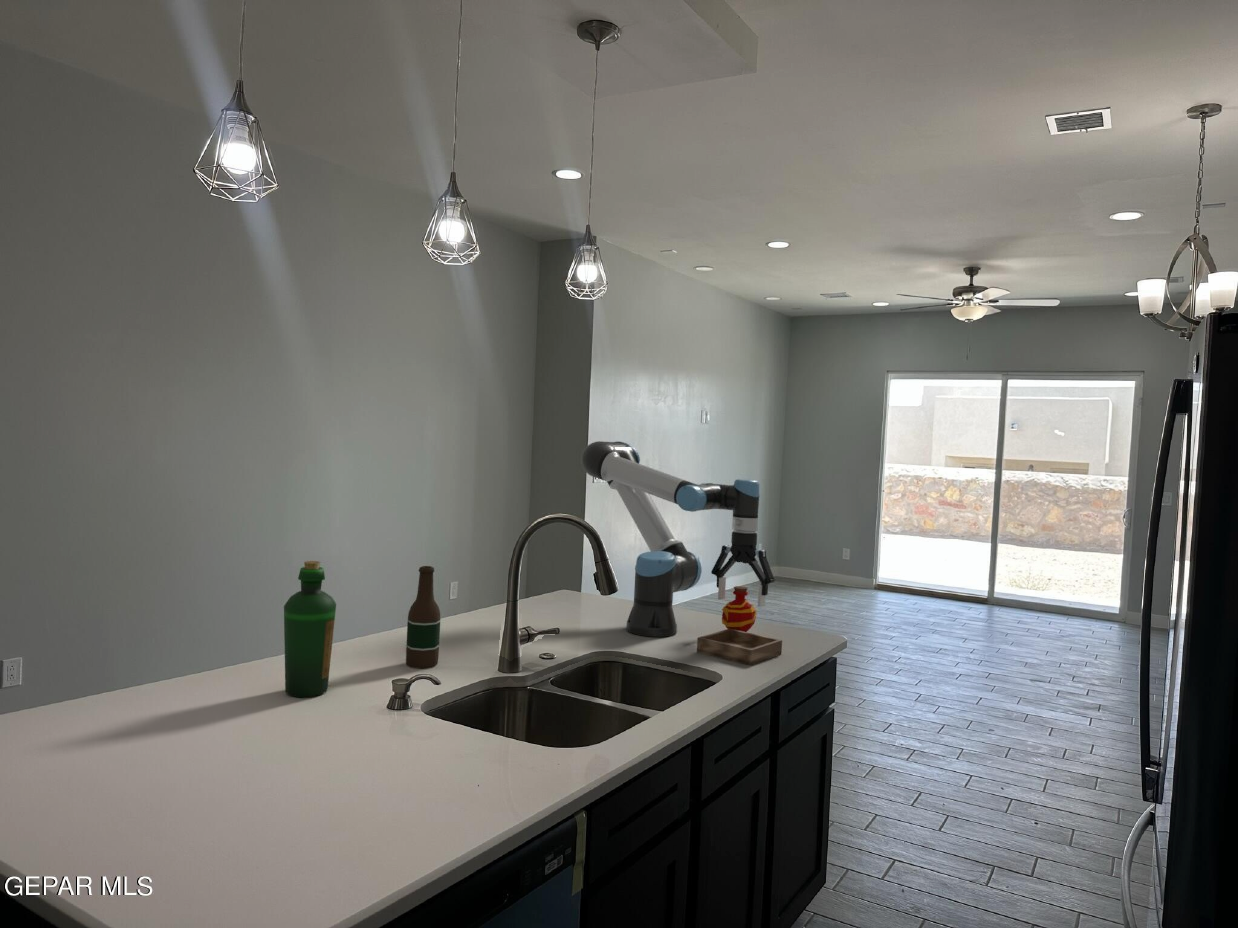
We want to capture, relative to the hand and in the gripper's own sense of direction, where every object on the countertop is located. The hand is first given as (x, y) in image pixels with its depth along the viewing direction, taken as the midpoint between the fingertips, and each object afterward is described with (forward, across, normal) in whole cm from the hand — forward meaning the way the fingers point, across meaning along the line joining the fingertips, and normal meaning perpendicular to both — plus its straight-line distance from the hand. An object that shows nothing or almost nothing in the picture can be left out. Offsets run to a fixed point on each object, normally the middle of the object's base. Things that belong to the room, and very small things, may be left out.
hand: (740, 602), depth 256 cm
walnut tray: (+11, +10, -16) cm, 21 cm away
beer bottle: (+10, -36, -89) cm, 97 cm away
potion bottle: (+11, 0, 0) cm, 11 cm away
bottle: (+10, -35, -121) cm, 126 cm away
